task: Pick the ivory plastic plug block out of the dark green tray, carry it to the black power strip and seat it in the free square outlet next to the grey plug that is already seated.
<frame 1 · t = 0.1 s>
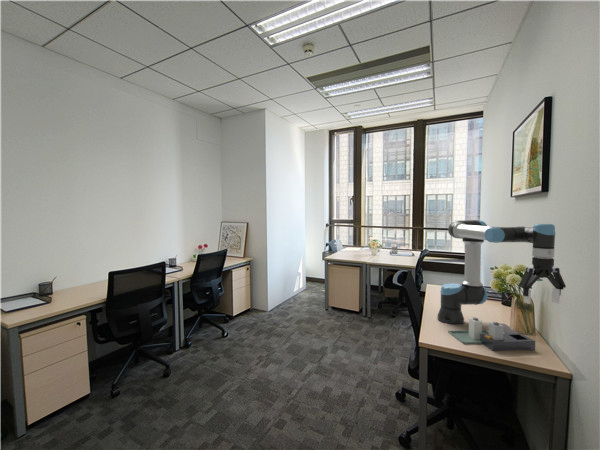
hand: (541, 302, 126), 28 cm above the table, fingers open, 13 cm apart
twin plug: (495, 343, 141), point 2 cm above the table, touching strip
plug: (475, 337, 151), resting on tray
tray: (475, 338, 151), on the table
strip: (506, 346, 142), on the table
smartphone: (505, 329, 163), on the table
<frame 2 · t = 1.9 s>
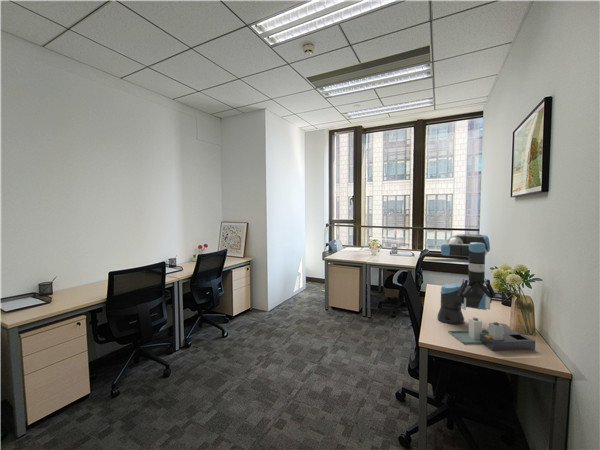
hand: (475, 309, 150), 17 cm above the table, fingers open, 13 cm apart
nothing on the table moved.
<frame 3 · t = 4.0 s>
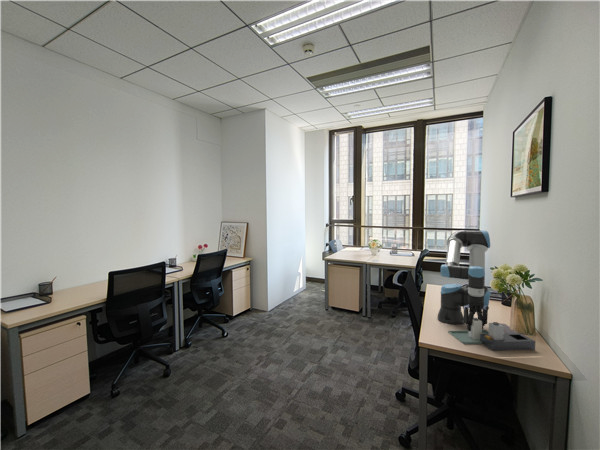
hand: (475, 336, 151), 1 cm above the table, fingers closed on plug, 4 cm apart
plug: (475, 337, 151), point 1 cm above the table, touching gripper, tray
everything else where it was.
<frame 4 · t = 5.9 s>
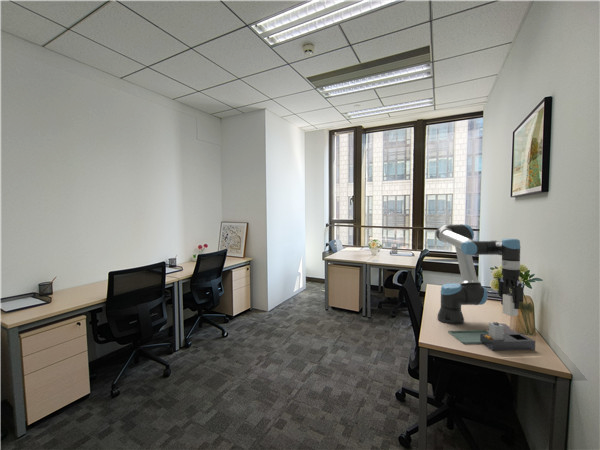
hand: (510, 312, 142), 17 cm above the table, fingers closed on plug, 4 cm apart
plug: (510, 314, 142), point 17 cm above the table, touching gripper
everything else where it was.
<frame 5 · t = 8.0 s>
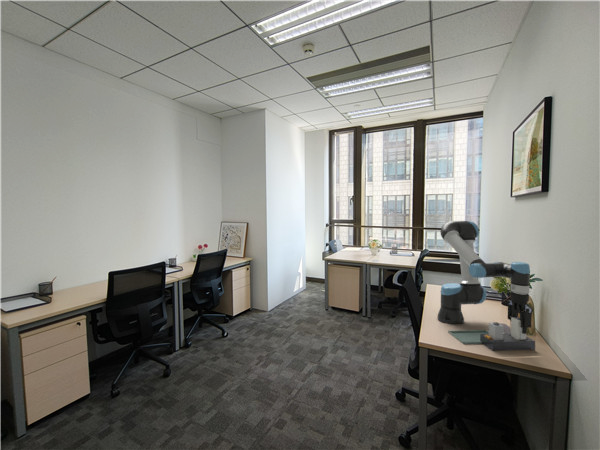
hand: (518, 336, 141), 5 cm above the table, fingers closed on plug, 4 cm apart
plug: (518, 338, 141), point 5 cm above the table, touching gripper
everything else where it was.
when the fingers open (5 cm above the table, at t = 9.3 s): plug stays where it is, resting on strip.
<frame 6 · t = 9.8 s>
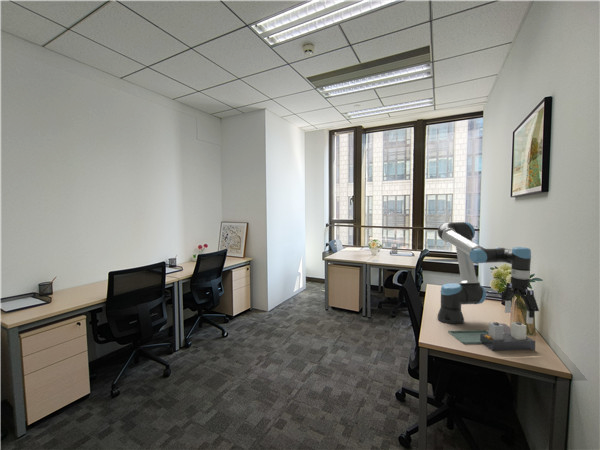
hand: (518, 317, 142), 15 cm above the table, fingers open, 13 cm apart
plug: (518, 342, 142), point 2 cm above the table, touching strip
everything else where it was.
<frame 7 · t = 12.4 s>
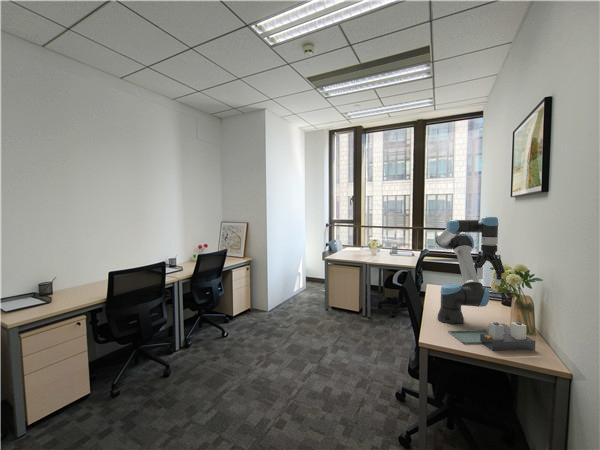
hand: (488, 282, 153), 31 cm above the table, fingers open, 13 cm apart
nothing on the table moved.
at the end: plug 0.1 cm from the target spot on the strip, point 2.0 cm above the strip's base; plug tilted 0°; the gripper is holding nothing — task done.
